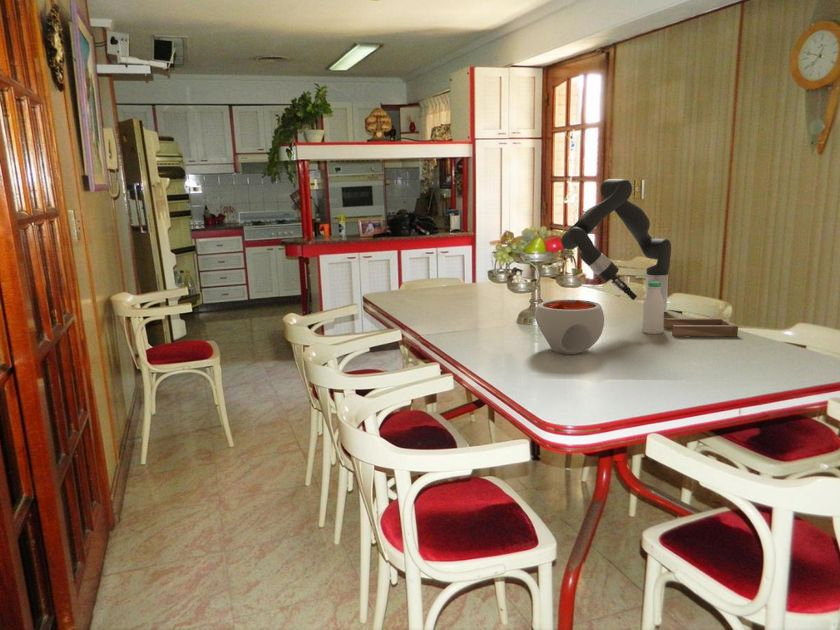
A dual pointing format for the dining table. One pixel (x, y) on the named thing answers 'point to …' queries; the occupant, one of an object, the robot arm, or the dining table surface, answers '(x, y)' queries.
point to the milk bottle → (653, 310)
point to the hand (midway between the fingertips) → (634, 297)
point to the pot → (570, 324)
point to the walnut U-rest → (700, 327)
